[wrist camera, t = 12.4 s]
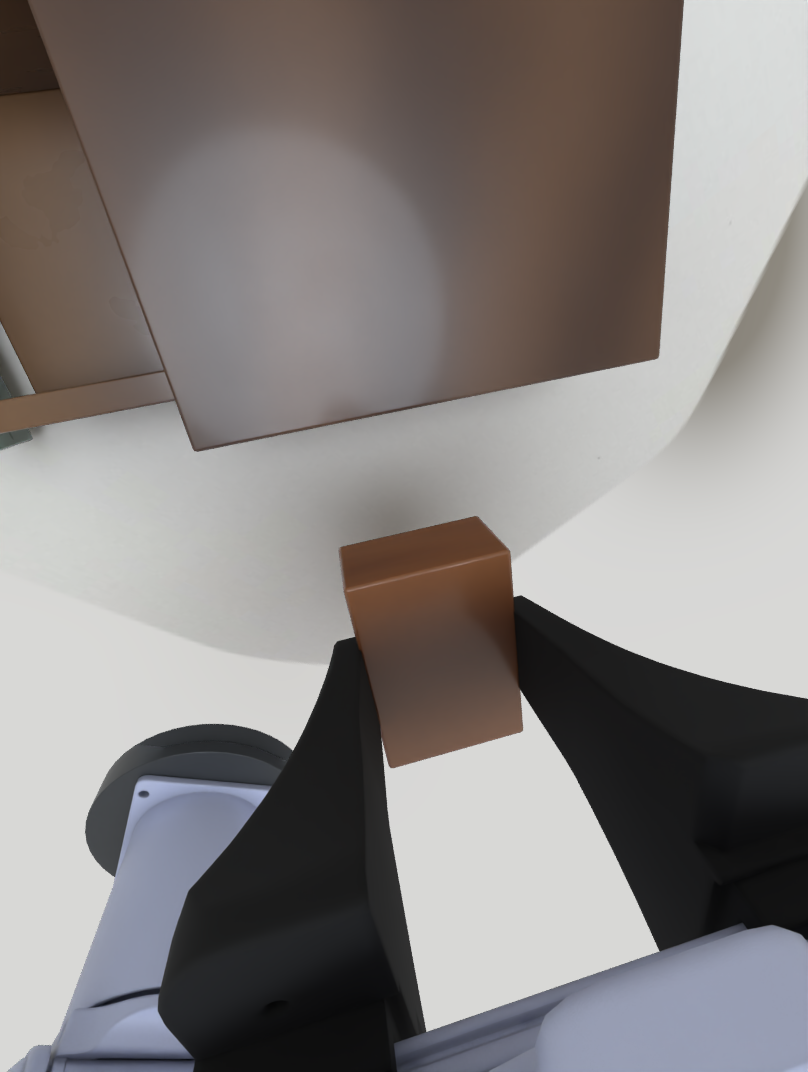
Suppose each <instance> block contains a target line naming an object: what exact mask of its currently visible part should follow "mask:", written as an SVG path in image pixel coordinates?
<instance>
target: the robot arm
mask: <svg viewBox="0 0 808 1072" xmlns="http://www.w3.org/2000/svg"><path fill="white" fill-rule="evenodd" d="M514 621H515V635H516V648H517V662H518V676H519V688H520V690H521V691H522V693H523V695H524V696H525V698H526V699H527V701H528V702H529V704H530V706H531V707H532V709H533V710H534V712H535V713H536V715H537V716H538V718H539V720H540V721H541V723H542V724H543V725H544V727H545V729H546V730H547V732H548V733H549V735H550V736H551V738H552V740H553V741H554V742H555V744H556V746H557V747H558V749H559V750H560V752H561V753H562V755H563V756H564V758H565V759H566V761H567V763H568V765H569V767H570V768H571V770H572V772H573V773H574V775H575V777H576V778H577V781H578V783H579V784H580V787H581V789H582V790H583V792H584V794H585V796H586V798H587V800H588V802H589V804H590V806H591V808H592V809H593V812H594V814H595V816H596V818H597V820H598V822H599V824H600V825H601V828H602V830H603V832H604V834H605V835H606V838H607V840H608V842H609V844H610V846H611V848H612V850H613V852H614V854H615V856H616V858H617V860H618V862H619V864H620V867H621V869H622V871H623V873H624V875H625V877H626V879H627V881H628V883H629V886H630V888H631V890H632V892H633V894H634V896H635V898H636V900H637V902H638V905H639V907H640V909H641V911H642V914H643V916H644V918H645V920H646V922H647V925H648V927H649V929H650V931H651V933H652V936H653V938H654V940H655V942H656V944H657V947H658V949H659V951H660V952H657V953H654V954H651V955H648V956H646V957H642V958H640V959H637V960H634V961H631V962H628V963H625V964H622V965H619V966H616V967H614V968H610V969H608V970H605V971H602V972H599V973H596V974H593V975H591V976H587V977H585V978H582V979H579V980H576V981H573V982H570V983H567V984H564V985H561V986H558V987H556V988H553V989H550V990H547V991H544V992H541V993H538V994H535V995H533V996H529V997H527V998H524V999H521V1000H518V1001H515V1002H512V1003H509V1004H506V1005H504V1006H501V1007H498V1008H495V1009H492V1010H489V1011H486V1012H483V1013H480V1014H478V1015H475V1016H472V1017H469V1018H466V1019H463V1020H460V1021H457V1022H454V1023H451V1024H449V1025H446V1026H443V1027H440V1028H437V1029H434V1030H431V1031H428V1032H426V1028H425V1022H424V1017H423V1011H422V1006H421V1001H420V995H419V990H418V984H417V979H416V974H415V968H414V963H413V957H412V952H411V946H410V941H409V935H408V930H407V924H406V919H405V913H404V907H403V901H402V896H401V890H400V884H399V879H398V873H397V868H396V862H395V856H394V850H393V844H392V838H391V833H390V827H389V818H388V811H387V798H386V787H385V776H384V763H383V752H382V739H381V728H380V723H379V719H378V715H377V711H376V708H375V704H374V700H373V696H372V692H371V688H370V684H369V680H368V676H367V673H366V669H365V665H364V661H363V657H362V653H361V651H360V650H359V649H358V645H357V641H356V637H353V638H349V639H345V640H341V641H337V643H336V644H335V645H334V649H333V654H332V658H331V662H330V665H329V669H328V672H327V675H326V678H325V681H324V684H323V686H322V689H321V691H320V694H319V697H318V699H317V702H316V705H315V707H314V709H313V711H312V713H311V716H310V718H309V720H308V722H307V725H306V727H305V729H304V731H303V733H302V735H301V737H300V739H299V741H298V743H297V745H296V747H295V748H294V750H293V752H292V754H291V756H290V757H289V759H288V761H287V763H286V764H285V766H284V767H283V769H282V771H281V772H280V774H279V776H278V777H277V779H276V780H275V782H274V784H273V785H272V786H269V785H258V784H247V783H235V782H224V781H213V780H201V779H190V778H179V777H167V776H156V775H144V776H141V777H140V778H139V779H138V781H137V783H136V785H135V790H134V794H133V799H132V803H131V808H130V812H129V817H128V821H127V826H126V830H125V835H124V839H123V844H122V849H121V853H120V858H119V862H118V867H117V871H116V876H115V881H114V885H113V888H112V891H111V894H110V896H109V899H108V902H107V904H106V907H105V910H104V913H103V915H102V918H101V921H100V923H99V926H98V929H97V932H96V934H95V937H94V940H93V942H92V945H91V948H90V951H89V953H88V956H87V959H86V961H85V964H84V967H83V970H82V972H81V975H80V978H79V980H78V983H77V986H76V989H75V991H74V994H73V997H72V999H71V1002H70V1005H69V1008H68V1010H67V1013H66V1016H65V1019H64V1021H63V1024H62V1027H61V1029H60V1032H59V1034H58V1035H57V1037H56V1039H55V1041H54V1042H53V1044H52V1046H51V1045H50V1046H49V1045H38V1046H34V1047H33V1048H32V1049H30V1051H29V1052H28V1053H27V1055H26V1057H25V1058H23V1059H21V1060H20V1061H19V1062H18V1063H16V1064H15V1065H14V1066H13V1067H12V1068H10V1069H9V1070H8V1071H7V1072H808V699H805V698H800V697H794V696H789V695H783V694H777V693H772V692H766V691H761V690H757V689H752V688H748V687H744V686H739V685H735V684H731V683H726V682H722V681H719V680H715V679H711V678H707V677H704V676H700V675H697V674H694V673H690V672H687V671H684V670H681V669H677V668H674V667H671V666H668V665H665V664H662V663H659V662H656V661H654V660H651V659H648V658H646V657H643V656H641V655H638V654H635V653H632V652H630V651H628V650H625V649H623V648H621V647H618V646H616V645H614V644H611V643H610V642H607V641H605V640H603V639H601V638H599V637H597V636H595V635H593V634H591V633H589V632H586V631H585V630H583V629H581V628H579V627H577V626H575V625H573V624H571V623H569V622H568V621H566V620H564V619H562V618H560V617H558V616H557V615H555V614H553V613H551V612H550V611H548V610H546V609H544V608H543V607H541V606H539V605H537V604H535V603H534V602H532V601H530V600H528V599H527V598H525V597H523V596H517V597H514Z"/></svg>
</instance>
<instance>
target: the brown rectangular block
mask: <svg viewBox="0 0 808 1072" xmlns="http://www.w3.org/2000/svg"><path fill="white" fill-rule="evenodd" d="M339 558H340V566H341V574H342V582H343V590H344V595H345V598H346V602H347V606H348V610H349V614H350V618H351V622H352V626H353V629H354V633H355V637H356V641H357V645H358V649H359V650H360V651H361V653H362V657H363V661H364V665H365V669H366V673H367V676H368V680H369V684H370V688H371V692H372V696H373V700H374V704H375V708H376V711H377V715H378V719H379V723H380V728H381V737H382V741H383V745H384V749H385V753H386V757H387V761H388V764H389V766H390V768H396V767H399V766H403V765H406V764H409V763H413V762H417V761H420V760H424V759H427V758H431V757H435V756H438V755H442V754H445V753H448V752H452V751H455V750H459V749H463V748H466V747H470V746H473V745H477V744H481V743H484V742H487V741H491V740H495V739H498V738H502V737H505V736H509V735H512V734H516V733H520V732H522V731H523V722H522V708H521V695H520V688H519V676H518V662H517V648H516V635H515V621H514V597H513V583H512V569H511V555H510V550H509V549H508V548H507V547H506V546H505V545H504V544H503V543H502V542H501V540H500V539H499V538H498V537H497V536H496V535H495V534H494V533H493V532H492V531H491V530H490V529H489V528H488V527H487V526H486V525H485V524H484V523H483V522H482V520H481V519H480V518H479V517H477V516H474V517H469V518H465V519H461V520H456V521H452V522H448V523H443V524H439V525H435V526H430V527H426V528H421V529H417V530H413V531H408V532H404V533H400V534H395V535H391V536H387V537H382V538H378V539H373V540H369V541H365V542H360V543H356V544H352V545H347V546H343V547H340V548H339Z"/></svg>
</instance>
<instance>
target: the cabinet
mask: <svg viewBox="0 0 808 1072" xmlns="http://www.w3.org/2000/svg"><path fill="white" fill-rule="evenodd" d="M28 3H29V6H30V8H31V11H32V14H33V17H34V19H35V22H36V25H37V27H38V30H39V33H40V36H41V38H42V41H43V44H44V46H45V49H46V52H47V55H48V57H49V60H50V63H51V65H52V68H53V71H54V74H55V76H56V79H57V82H58V84H59V87H60V90H61V93H62V95H63V98H64V101H65V103H66V106H67V109H68V112H69V114H70V117H71V120H72V122H73V125H74V128H75V131H76V133H77V136H78V139H79V141H80V144H81V147H82V150H83V152H84V155H85V158H86V160H87V163H88V166H89V168H90V171H91V174H92V177H93V179H94V182H95V185H96V187H97V190H98V193H99V196H100V198H101V201H102V204H103V206H104V209H105V212H106V215H107V217H108V220H109V223H110V225H111V228H112V231H113V234H114V236H115V239H116V242H117V244H118V247H119V250H120V253H121V255H122V258H123V261H124V263H125V266H126V269H127V272H128V274H129V277H130V280H131V282H132V285H133V288H134V291H135V293H136V296H137V299H138V301H139V304H140V307H141V310H142V312H143V315H144V318H145V320H146V323H147V326H148V329H149V331H150V334H151V337H152V339H153V342H154V345H155V347H156V350H157V353H158V356H159V358H160V361H161V364H162V366H163V369H164V372H165V375H166V377H167V380H168V383H169V385H170V388H171V391H172V394H173V396H174V399H175V402H176V404H177V407H178V410H179V413H180V415H181V418H182V421H183V423H184V426H185V429H186V432H187V434H188V437H189V440H190V442H191V445H192V448H193V450H194V451H197V452H199V451H204V450H209V449H214V448H219V447H223V446H228V445H233V444H238V443H243V442H248V441H253V440H258V439H263V438H268V437H273V436H278V435H283V434H288V433H293V432H298V431H303V430H308V429H313V428H318V427H323V426H328V425H333V424H338V423H342V422H347V421H352V420H357V419H362V418H367V417H372V416H377V415H382V414H387V413H392V412H397V411H402V410H407V409H412V408H417V407H422V406H427V405H432V404H437V403H442V402H447V401H452V400H457V399H461V398H466V397H471V396H476V395H481V394H486V393H491V392H496V391H501V390H506V389H511V388H516V387H521V386H526V385H531V384H536V383H541V382H546V381H551V380H556V379H561V378H566V377H571V376H576V375H580V374H585V373H590V372H595V371H600V370H605V369H610V368H615V367H620V366H625V365H630V364H635V363H640V362H645V361H650V360H655V359H657V358H658V357H659V349H660V335H661V321H662V307H663V292H664V278H665V264H666V249H667V235H668V221H669V206H670V192H671V178H672V163H673V149H674V135H675V120H676V106H677V92H678V78H679V63H680V49H681V35H682V20H683V6H684V0H28Z"/></svg>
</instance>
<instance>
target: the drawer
mask: <svg viewBox="0 0 808 1072" xmlns="http://www.w3.org/2000/svg"><path fill="white" fill-rule="evenodd" d="M0 322H1V324H2V326H3V328H4V330H5V332H6V334H7V336H8V338H9V340H10V342H11V344H12V346H13V348H14V350H15V352H16V354H17V356H18V358H19V360H20V362H21V364H22V366H23V368H24V370H25V372H26V374H27V376H28V378H29V380H30V383H31V385H32V387H33V389H34V391H35V393H36V394H30V395H25V396H19V397H14V398H12V396H11V394H10V392H9V390H8V389H7V387H6V385H5V383H4V381H3V379H2V377H1V375H0V451H1V450H3V449H6V448H9V447H12V446H15V445H18V444H21V443H24V442H27V441H30V440H32V439H33V437H32V435H31V433H30V431H29V429H28V428H33V427H38V426H43V425H49V424H54V423H59V422H64V421H70V420H75V419H80V418H85V417H91V416H96V415H101V414H107V413H112V412H117V411H122V410H128V409H133V408H138V407H143V406H149V405H154V404H159V403H165V402H170V401H175V399H174V396H173V394H172V391H171V388H170V385H169V383H168V380H167V377H166V375H165V372H164V369H163V366H162V364H161V361H160V358H159V356H158V353H157V350H156V347H155V345H154V342H153V339H152V337H151V334H150V331H149V329H148V326H147V323H146V320H145V318H144V315H143V312H142V310H141V307H140V304H139V301H138V299H137V296H136V293H135V291H134V288H133V285H132V282H131V280H130V277H129V274H128V272H127V269H126V266H125V263H124V261H123V258H122V255H121V253H120V250H119V247H118V244H117V242H116V239H115V236H114V234H113V231H112V228H111V225H110V223H109V220H108V217H107V215H106V212H105V209H104V206H103V204H102V201H101V198H100V196H99V193H98V190H97V187H96V185H95V182H94V179H93V177H92V174H91V171H90V168H89V166H88V163H87V160H86V158H85V155H84V152H83V150H82V147H81V144H80V141H79V139H78V136H77V133H76V131H75V128H74V125H73V122H72V120H71V117H70V114H69V112H68V109H67V106H66V103H65V101H64V98H63V95H62V93H61V90H60V87H59V84H58V82H57V79H56V76H55V74H54V71H53V68H52V65H51V63H50V60H49V57H48V55H47V52H46V49H45V46H44V44H43V41H42V38H41V36H40V33H39V30H38V27H37V25H36V22H35V19H34V17H33V14H32V11H31V8H30V6H29V3H28V0H0Z"/></svg>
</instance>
